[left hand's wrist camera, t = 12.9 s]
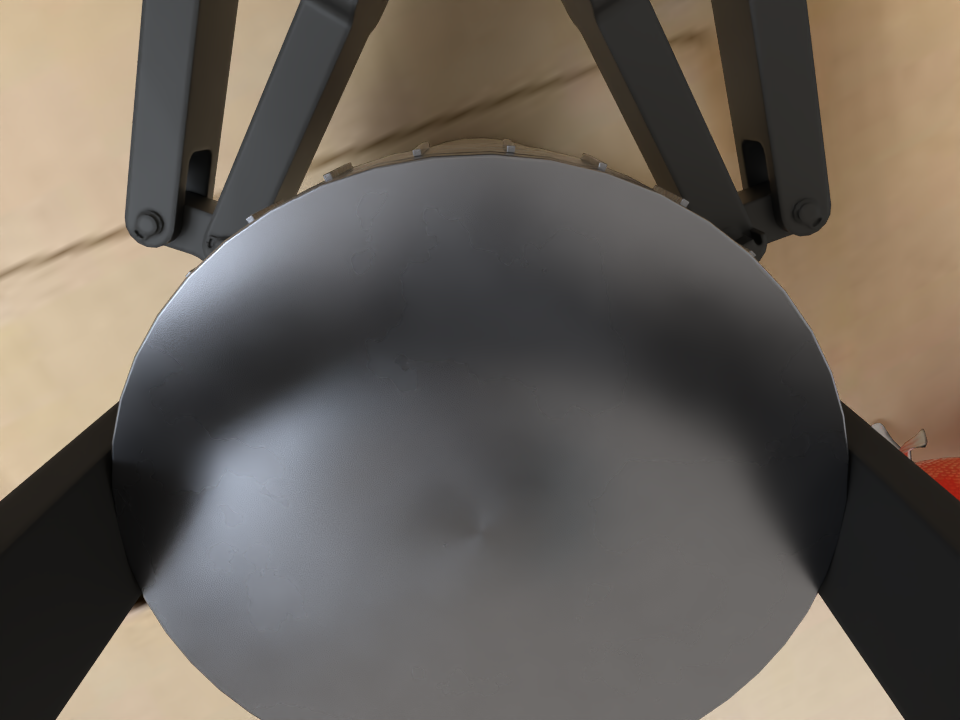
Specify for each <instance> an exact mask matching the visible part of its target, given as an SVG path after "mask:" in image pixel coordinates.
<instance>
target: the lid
mask: <svg viewBox="0 0 960 720" xmlns="http://www.w3.org/2000/svg"><path fill="white" fill-rule="evenodd" d="M606 167H607V164H605V163H604V162H602V161H600V160H598V159H596V158H594V157H592V156H590V155H588V154H584V153H583V155H582V158H578V157H574V156H569V155H565V154H561V153H557V152H553V151H548V150H544V149H540V148H533V147H523V146H515V145H514V144H513V143H512V141H511V140H510V139H503V145H502V144H491V143H485V144H462V145H440V146H435V147H429V142H423V143H421V144H420V145H418V146H417V147H416V148H415V149H413V150H412V151H407V152H402V153H396V154H392V155H389V156H386V157H383V158H380V159H377V160H374V161H371V162H368V163H365V164H362V165H359V166H356V167H353V166H352V164H351V163H348V164H345V165H343V166H341V167H339V168H337V169H335V170H333V171H331V172H329V173H327V174H325V175H323V177H324V179H325V181H323V182H321V183H319V184H317V185H315V186H313V187H311V188H309V189H307V190H305V191H303V192H301V193H300V194H298V195H296V196H294V197H292V198H290V199H288V200H286V201H285V202H284V201H283V199H282V200H280V201H278V202H276V203H274V204H272V205H270V206H268V207H266V208H264V209H262V210H260V211H258V212H256V213H254V214H252V215H250V216H249V217H248V218H246V220H247V221H248V223H249V224H248V225H246V226H245V227H243V228H242V229H241V230H239V231H238V232H236V233H235V234H233V235H232V236H231V237H229V238H228V239H226V240H225V241H224V242H223V243H222V244H221V245H220V246H219V247H217V248H216V249H215V250H214V251H213V252H212V253H211V254H210V255H209V256H208V257H207V258H206V259H205V260H204V261H203V262H202V263H201V264H199V265H198V266H197V267H196V268H194V269H193V270H191V271H189V273H188V274H187V275H186V278H185V280H184V281H183V282H182V284H181V285H180V286H179V287H178V289H177V290H176V291H175V293H174V294H173V295H172V296H171V298H170V299H169V300H168V302H167V303H166V304H165V306H164V307H163V308H162V309H161V311H160V312H159V313H158V315H157V316H156V318H155V320H154V322H153V324H152V326H151V327H150V329H149V331H148V333H147V335H146V336H145V338H144V340H143V342H142V344H141V346H140V347H139V349H138V351H137V353H136V355H135V357H134V360H133V363H132V366H131V368H130V371H129V374H128V377H127V380H126V383H125V385H124V388H123V391H122V394H121V397H120V401H119V406H118V412H117V417H116V423H115V428H114V434H113V440H112V472H111V486H112V493H113V500H114V507H115V513H116V518H117V522H118V527H119V531H120V534H121V538H122V542H123V546H124V550H125V554H126V557H127V561H128V564H129V566H130V568H131V570H132V572H133V575H134V577H135V579H136V581H137V583H138V586H139V588H140V590H141V592H142V594H143V596H144V599H145V600H146V602H147V604H148V605H149V607H150V608H151V610H152V611H153V613H154V615H155V616H156V618H157V619H158V621H159V622H160V624H161V626H162V627H163V629H164V630H165V632H166V633H167V635H168V636H169V637H170V638H171V639H172V641H173V642H174V643H175V644H176V645H177V647H178V648H179V649H180V650H181V651H182V653H183V654H184V655H185V656H186V657H187V659H188V660H189V661H190V662H191V663H192V664H193V665H194V666H195V667H196V668H197V669H198V670H199V671H200V672H201V673H202V674H203V675H204V676H205V677H206V678H207V679H209V680H210V681H211V682H212V683H213V684H214V685H215V686H216V687H217V688H218V689H219V690H220V691H222V692H223V693H224V694H226V695H227V696H228V697H230V698H231V699H232V700H234V701H235V702H236V703H238V704H239V705H240V706H242V707H243V708H244V709H246V710H247V711H248V712H249V713H251V714H253V715H254V716H256V717H258V718H259V719H261V720H699V719H701V718H702V717H704V716H705V715H707V714H708V713H710V712H711V711H712V710H714V709H715V708H717V707H718V706H720V705H721V704H723V703H724V702H725V701H727V700H728V699H730V698H731V697H732V696H733V695H734V694H735V693H737V692H738V691H739V690H740V689H741V688H742V687H743V686H745V685H746V684H747V683H748V682H749V681H750V680H752V679H753V678H754V677H755V676H756V675H757V674H758V673H759V672H760V671H761V670H762V669H763V668H764V667H765V666H766V665H767V664H768V662H769V661H770V660H771V659H772V658H773V657H774V656H775V655H776V654H777V653H778V651H779V650H780V649H781V648H782V647H783V646H784V645H785V644H786V642H787V641H788V639H789V638H790V636H791V635H792V634H793V632H794V631H795V629H796V628H797V627H798V625H799V624H800V622H801V621H802V619H803V618H804V617H805V615H806V614H807V612H808V610H809V609H810V607H811V605H812V603H813V601H814V599H815V597H816V595H817V593H818V591H819V590H820V588H821V586H822V584H823V582H824V580H825V578H826V576H827V573H828V570H829V567H830V564H831V562H832V559H833V556H834V553H835V550H836V547H837V543H838V539H839V535H840V531H841V526H842V522H843V518H844V514H845V509H846V504H847V495H848V472H849V453H848V445H847V436H846V428H845V419H844V413H843V410H842V406H841V403H840V399H839V396H838V392H837V388H836V385H835V381H834V378H833V374H832V371H831V369H830V367H829V365H828V363H827V361H826V359H825V356H824V354H823V352H822V350H821V348H820V346H819V344H818V341H817V339H816V337H815V335H814V333H813V331H812V329H811V328H810V326H809V325H808V323H807V322H806V320H805V319H804V317H803V316H802V314H801V313H800V311H799V310H798V309H797V307H796V306H795V304H794V303H793V301H792V300H791V298H790V297H789V295H788V294H787V292H786V291H785V290H784V289H783V288H782V287H781V285H780V284H779V283H778V282H777V281H776V280H775V279H774V278H773V277H772V276H771V275H770V274H769V273H768V272H767V271H766V269H765V268H764V267H763V266H762V265H761V264H760V263H759V262H758V261H757V260H756V259H755V258H754V257H755V256H756V255H755V254H754V253H753V252H752V251H751V250H750V249H748V248H746V247H744V246H742V245H741V244H739V243H737V242H735V241H734V240H733V239H731V238H730V237H729V236H728V235H726V234H725V233H724V232H722V231H721V230H720V229H719V228H717V227H716V226H715V225H713V224H712V223H711V222H710V221H708V220H706V219H705V218H703V217H701V216H699V215H698V214H696V213H694V212H692V211H691V210H689V209H687V208H686V207H687V205H688V204H689V201H687V200H685V199H684V198H682V197H679V196H677V195H675V194H673V193H671V192H669V191H667V190H665V189H663V188H661V187H659V186H657V185H655V186H654V188H653V189H651V188H649V187H647V186H646V185H644V184H642V183H640V182H638V181H636V180H634V179H632V178H630V177H628V176H626V175H624V174H621V173H618V172H616V171H613V170H611V169H608V168H606Z"/></svg>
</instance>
